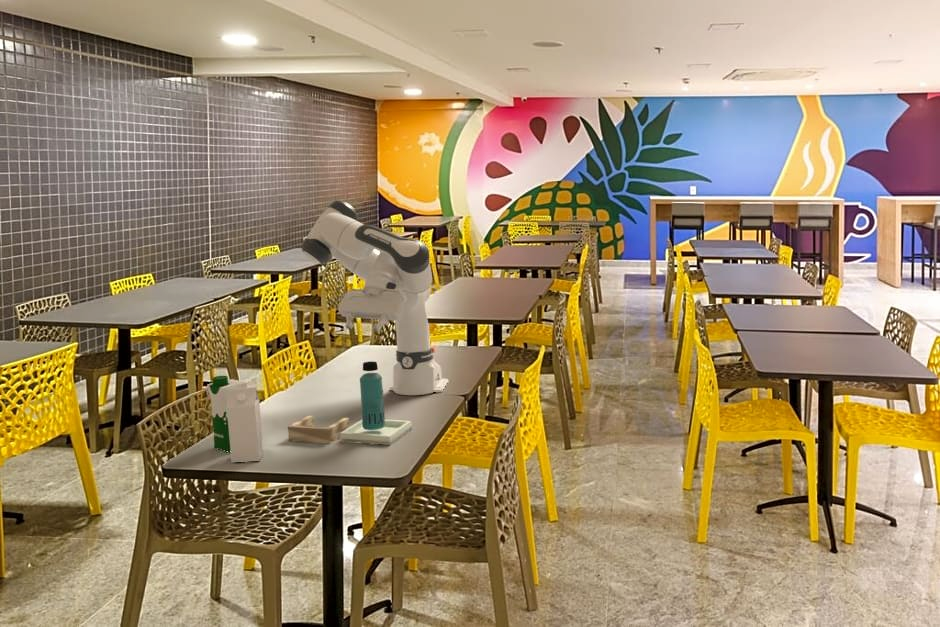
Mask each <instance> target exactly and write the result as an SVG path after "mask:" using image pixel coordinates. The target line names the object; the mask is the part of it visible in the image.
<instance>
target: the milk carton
mask: <svg viewBox="0 0 940 627" xmlns="http://www.w3.org/2000/svg"><path fill="white" fill-rule="evenodd" d="M260 407H261V405H260V398H259V395H258V393H257V387H256V386H255V387H254V386H253V387H247V388H234V389H228V400H227V415H228V427H229V439H230V451H231V452H230V459H231V462H230V463H232V462H245V461H259V462H260V461H261V459H262V457H261V456H263V455H264V445H263V444H264V443H263V431H262V430H263V429H262V418H261V408H260ZM245 463H246V462H245Z"/></svg>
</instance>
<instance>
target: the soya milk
mask: <svg viewBox="0 0 940 627" xmlns="http://www.w3.org/2000/svg"><path fill="white" fill-rule="evenodd" d="M211 380H212V382H211V383H209V384H208V383H207V384H206V385H207V391H208V394H209V397H210V404H211V407H210V408H211V416H212V429H213V447H214V449H217V448H218V449H217V450H220V449H222V450H221V451H223V450H225V451H224V452H226V451H228V452H227V453H231V452H230V439H229V427H228V415H227V400H228V389H234V388H248V381H244V380H243V381H242V380H238V379H233V378H232V379H230V378H229V377H228V375H218V376H217V375H216V376H213V377H212V379H211Z"/></svg>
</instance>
